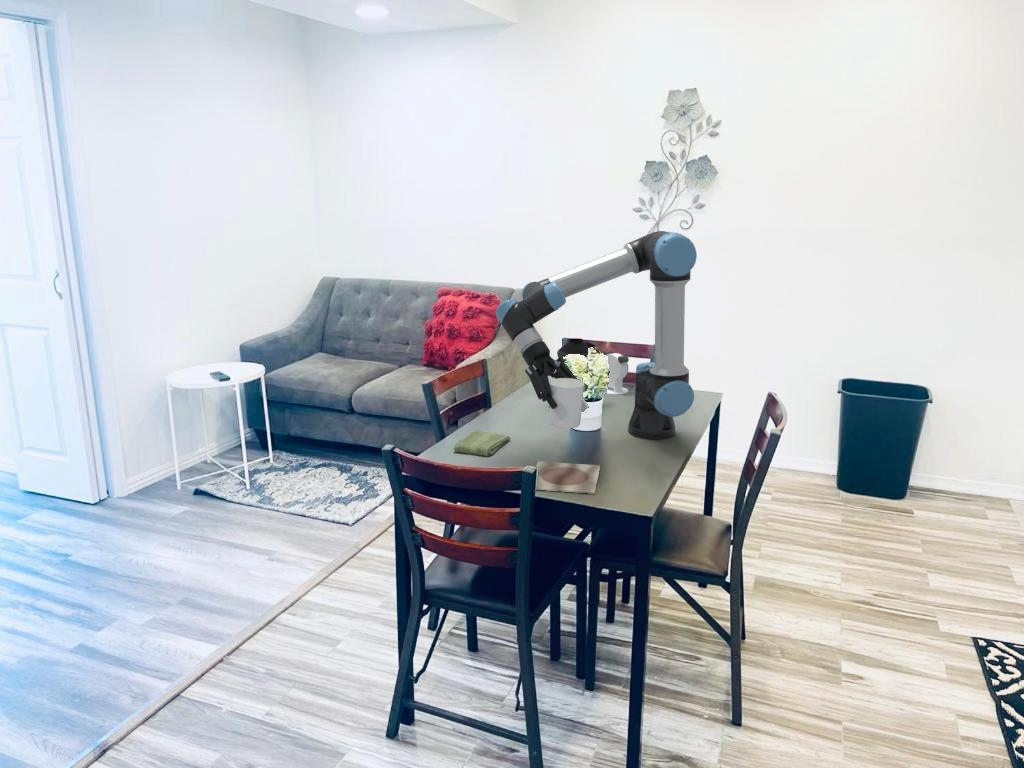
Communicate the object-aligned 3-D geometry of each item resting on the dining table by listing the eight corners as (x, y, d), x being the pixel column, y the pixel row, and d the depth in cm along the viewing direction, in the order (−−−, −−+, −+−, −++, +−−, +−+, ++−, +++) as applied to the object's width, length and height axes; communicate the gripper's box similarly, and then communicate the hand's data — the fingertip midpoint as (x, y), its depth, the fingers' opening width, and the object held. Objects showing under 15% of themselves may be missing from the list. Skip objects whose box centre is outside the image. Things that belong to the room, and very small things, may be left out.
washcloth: (512, 441, 240) (512, 431, 239) (490, 459, 224) (490, 448, 223) (474, 436, 245) (474, 426, 244) (450, 453, 229) (450, 443, 228)
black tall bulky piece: (540, 409, 272) (541, 341, 266) (567, 397, 288) (568, 332, 281) (581, 416, 263) (582, 346, 257) (606, 403, 279) (608, 337, 273)
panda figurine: (635, 392, 294) (636, 354, 290) (611, 396, 288) (613, 358, 284) (616, 385, 304) (617, 349, 300) (593, 389, 298) (594, 352, 294)
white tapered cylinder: (587, 421, 213) (589, 380, 210) (575, 431, 205) (577, 389, 201) (555, 416, 217) (556, 376, 214) (541, 426, 209) (543, 384, 206)
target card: (600, 467, 216) (600, 465, 216) (594, 494, 197) (594, 492, 197) (538, 463, 219) (538, 461, 219) (526, 489, 200) (526, 487, 200)
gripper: (549, 349, 224) (590, 412, 218) (498, 361, 208) (541, 429, 202) (564, 334, 219) (606, 398, 213) (513, 345, 204) (557, 414, 198)
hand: (574, 413), depth 208 cm, fingers closed on white tapered cylinder, 9 cm apart
